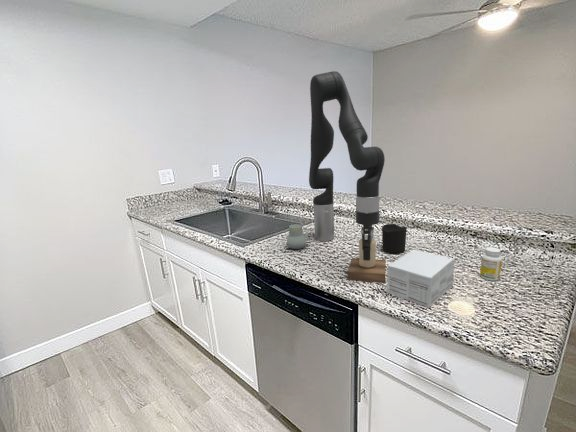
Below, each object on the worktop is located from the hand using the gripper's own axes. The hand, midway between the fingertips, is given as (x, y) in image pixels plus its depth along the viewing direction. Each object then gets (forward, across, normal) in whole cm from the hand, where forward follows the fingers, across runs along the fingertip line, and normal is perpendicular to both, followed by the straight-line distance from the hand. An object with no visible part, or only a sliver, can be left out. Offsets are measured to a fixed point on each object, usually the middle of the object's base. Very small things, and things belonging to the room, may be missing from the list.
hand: (367, 256), depth 105 cm
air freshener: (+7, -22, -32) cm, 39 cm away
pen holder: (+7, -24, +9) cm, 26 cm away
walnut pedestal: (+6, 0, 0) cm, 6 cm away
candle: (+3, 0, 0) cm, 3 cm away
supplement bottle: (+7, -4, +38) cm, 39 cm away
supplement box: (+7, +8, +16) cm, 19 cm away
